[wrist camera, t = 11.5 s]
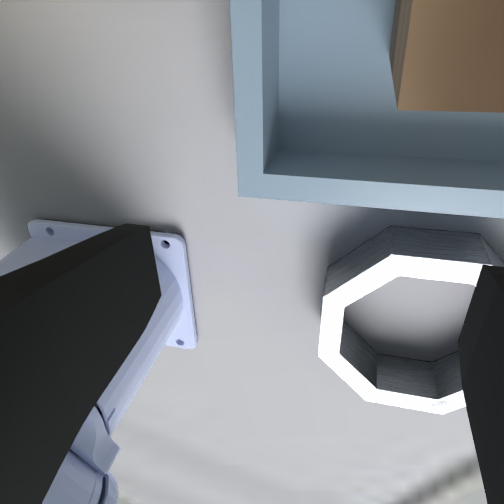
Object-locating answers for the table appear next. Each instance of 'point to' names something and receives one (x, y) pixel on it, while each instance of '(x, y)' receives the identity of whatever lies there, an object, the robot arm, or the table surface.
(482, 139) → the bin
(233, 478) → the table surface
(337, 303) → the collar
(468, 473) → the table surface
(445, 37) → the peg
